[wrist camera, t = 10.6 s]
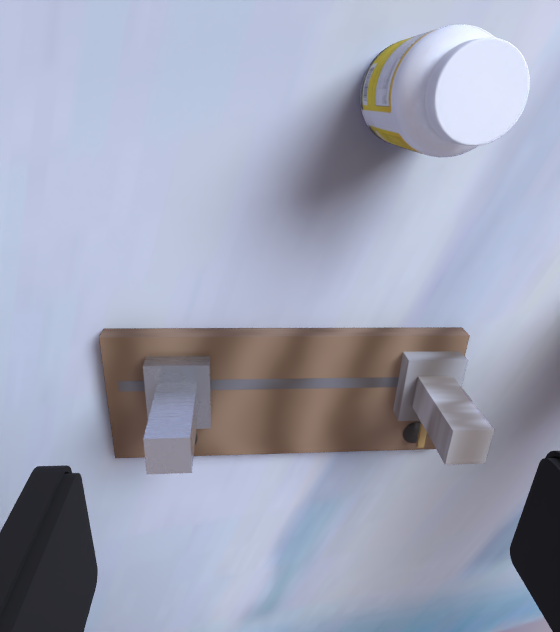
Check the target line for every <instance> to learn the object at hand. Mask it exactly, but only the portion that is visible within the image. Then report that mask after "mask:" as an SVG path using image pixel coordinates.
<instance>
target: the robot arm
mask: <svg viewBox="0 0 560 632" xmlns="http://www.w3.org/2000/svg"><path fill="white" fill-rule="evenodd" d="M510 556H511V560H512V563H513V565H514V567H515V568H516V570H517V572H518V574H519V575H520V577H521V579H522V580H523V582H524V584H525V585H526V587H527V589H528V590H529V592H530V594H531V596H532V597H533V599H534V601H535V602H536V604H537V606H538V607H539V609H540V611H541V612H542V614H543V616H544V618H545V619H546V621H547V622H548V624H549V626H550V628H551V629H552V631H553V632H560V451H551V452H549V453H548V454H547V456H546V458H545V459H542V460H541V461H540V463H539V466H538V469H537V472H536V474H535V477H534V480H533V483H532V486H531V489H530V492H529V494H528V497H527V500H526V503H525V506H524V509H523V512H522V514H521V517H520V520H519V523H518V526H517V529H516V532H515V534H514V537H513V540H512V543H511V546H510ZM96 583H97V563H96V557H95V551H94V546H93V540H92V535H91V529H90V523H89V518H88V512H87V506H86V501H85V495H84V489H83V484H82V478H81V475H80V474H79V473H72V471H71V468H70V467H69V466H37V467H36V468H35V469H34V470H33V472H32V473H31V475H30V477H29V479H28V481H27V483H26V485H25V486H24V488H23V490H22V492H21V494H20V496H19V498H18V500H17V502H16V504H15V505H14V507H13V509H12V511H11V513H10V515H9V517H8V519H7V521H6V523H5V524H4V526H3V528H2V530H1V532H0V632H84V628H85V625H86V621H87V617H88V614H89V610H90V606H91V603H92V599H93V596H94V592H95V588H96Z"/></svg>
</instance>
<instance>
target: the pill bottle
mask: <svg viewBox="0 0 560 632" xmlns="http://www.w3.org/2000/svg"><path fill="white" fill-rule="evenodd" d="M529 88H530V77H529V70H528V66H527V63H526V61H525V59H524V57H523V56H522V54H521V53H520V51H519V50H518V49H517V48H516V47H515V46H514V45H512V44H511V43H509V42H507V41H505V40H502V39H499V38H495V37H494V36H493V35H492V34H490V33H489V32H487V31H485V30H483V29H481V28H479V27H476V26H472V25H464V24H458V25H450V26H445V27H442V28H439V29H436V30H433V31H429V32H426V33H423V34H420V35H417V36H414V37H411V38H408V39H405V40H402V41H399V42H397V43H394V44H392V45H390V46H389V47H387V48H386V49H384V50H383V51H382V52H381V53H380V54H378V55H377V57H376V58H375V59H374V60H373V61H372V63H371V64H370V66H369V67H368V69H367V71H366V73H365V76H364V78H363V82H362V86H361V92H360V105H361V110H362V114H363V117H364V120H365V122H366V123H367V125H368V127H369V128H370V129H371V131H372V132H373V133H374V134H375V135H376V136H378V137H379V138H380V139H382V140H384V141H386V142H388V143H391V144H394V145H397V146H400V147H403V148H406V149H409V150H412V151H416V152H419V153H422V154H425V155H429V156H434V157H452V156H457V155H461V154H463V153H466V152H468V151H470V150H472V149H474V148H476V147H477V146H479V145H484V144H487V143H490V142H492V141H494V140H496V139H498V138H500V137H501V136H503V135H504V134H505V133H506V132H507V131H509V130H510V128H511V127H512V126H513V125H514V124H515V123H516V121H517V120H518V118H519V117H520V115H521V114H522V112H523V110H524V107H525V105H526V102H527V98H528V94H529Z"/></svg>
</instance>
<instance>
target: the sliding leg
mask: <svg viewBox="0 0 560 632" xmlns="http://www.w3.org/2000/svg"><path fill="white" fill-rule="evenodd" d="M143 373H144V384H145V395H146V405H147V416H148V422H147V426H146V430H145V434H144V438H143V441H144V451H145V461H146V471H147V474H168V473H192V466H193V456H194V447H195V438H196V429H209V428H211V420H212V410H211V368H210V356H146V358H145V361H144V364H143Z"/></svg>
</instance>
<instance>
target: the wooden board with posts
mask: <svg viewBox="0 0 560 632" xmlns="http://www.w3.org/2000/svg"><path fill="white" fill-rule="evenodd" d="M469 336H470V335H469V334H468V333H467V332H466V331H465V330H464V329H463V328H161V329H103V331H102V333H101V335H100V337H99V341H100V348H101V355H102V363H103V370H104V378H105V385H106V393H107V400H108V408H109V415H110V422H111V430H112V437H113V445H114V452H115V458H138V457H145V451H144V441H143V438H144V434H145V430H146V426H147V422H148V416H147V405H146V395H145V384H144V373H143V364H144V361H145V358H146V356H210V368H211V410H212V420H211V428H209V429H196V438H195V447H194V456H207V455H242V454H277V453H311V452H346V451H380V450H415V449H437V451H438V453H439V455H440V456H441V458H442V460H443V462H444V463H445V465H446V464H477V463H485V461H486V458H487V454H488V451H489V447H490V444H491V440H492V437H493V433H494V429H493V427H492V426H491V425H490V424H489V422H488V421H487V420H486V418H485V417H484V416H483V414H482V413H481V412H480V411H479V409H478V408H477V407H476V405H475V404H474V403H473V402H472V400H471V399H470V398H469V396H468V395H467V394H466V392H465V391H464V390H463V389H462V384H463V380H464V375H465V371H466V367H467V363H468V360H467V358H466V357H465V353H466V349H467V345H468V340H469Z"/></svg>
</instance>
